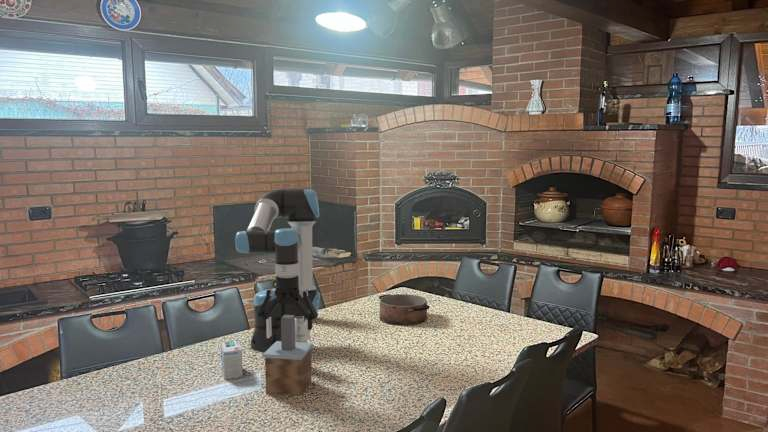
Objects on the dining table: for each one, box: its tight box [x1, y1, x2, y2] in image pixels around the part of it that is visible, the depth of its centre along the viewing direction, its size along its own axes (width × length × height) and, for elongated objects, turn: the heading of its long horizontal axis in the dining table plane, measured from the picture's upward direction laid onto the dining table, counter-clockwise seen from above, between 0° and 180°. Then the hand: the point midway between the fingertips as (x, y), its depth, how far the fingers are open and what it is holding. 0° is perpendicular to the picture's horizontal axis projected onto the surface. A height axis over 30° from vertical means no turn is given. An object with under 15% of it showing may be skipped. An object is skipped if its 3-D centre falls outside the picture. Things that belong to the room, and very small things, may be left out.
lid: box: [262, 315, 314, 360], centre depth 189 cm, size 13×13×13 cm
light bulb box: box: [220, 340, 244, 380], centre depth 204 cm, size 11×7×11 cm, turn 21°
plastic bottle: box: [295, 316, 308, 343], centre depth 208 cm, size 6×7×20 cm
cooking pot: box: [378, 293, 430, 327], centre depth 268 cm, size 30×22×11 cm
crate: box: [264, 348, 312, 396], centre depth 190 cm, size 12×12×14 cm
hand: (288, 338), depth 189 cm, fingers open, 13 cm apart
